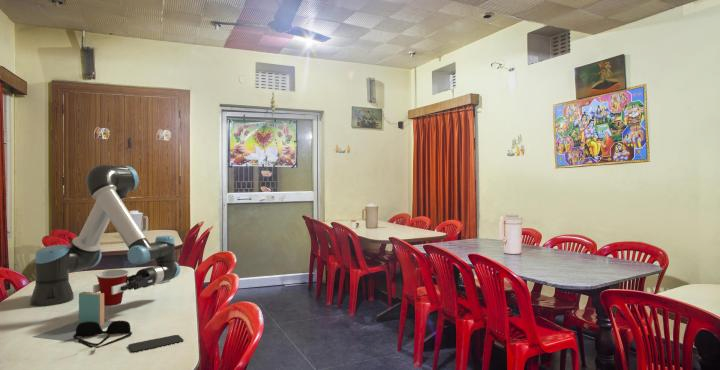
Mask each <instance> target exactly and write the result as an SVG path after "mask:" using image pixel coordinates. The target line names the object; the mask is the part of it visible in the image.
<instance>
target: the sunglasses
mask: <svg viewBox="0 0 720 370" xmlns="http://www.w3.org/2000/svg"><path fill="white" fill-rule="evenodd" d="M112 321H113V322H112V323H111V324H110V325H109V326H108V327H107V328H106V330H104V329H102V328H101V326H100V325H99V323H97V322H94V321H87V322H82V323H80V324H79V325H78V326H77V328H76V334H74V336H73V338H75V339H76V340H77V342H78V343H79V344H81V345H83V346H85V347H88V348H90V349H92V348H96V349H98V348H101V347H106V346H107V345H110V344H113V343H116V342H118V341H121V340H124V339H126V338H128V337H130V336H132V335H133V332H132V331H131V325H130V324H131V323H129V321H127V320H122V319H121V320H112ZM104 334H105V335H107V336H104V338H103V339H102V340H101V341H100V342H98V343H95V342H94V343H93V342H90V341H87V340H85V339H83V338H86V337H88V338H89V337H94V336H99V335H104ZM116 334H117V335H123V336H121V337H119V338H116V339H114V340H111V341H108V342H106V341H107V340H109V338H111V336H110V335H116ZM124 334H125V335H124ZM78 337H81V338H78ZM104 342H106V343H104ZM103 343H104V344H103Z"/></svg>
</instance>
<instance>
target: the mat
mask: <svg viewBox="0 0 720 370" xmlns="http://www.w3.org/2000/svg"><path fill="white" fill-rule="evenodd" d="M113 321H114V320H110V319H109V320H108V319H104V325H102V326H101V328H102V330H104V329H107V328H108V326H109V325H110V324H111V323H112V322H113ZM78 325H79V320H77V321H75V322H71V323H69V324H66V325H63V326H59V327H57V328H54V329H51V330H48V331H46V332H42V333H40V334H37V335H34V336H32V338H38V339H46V340H54V341H62V342H70V343H71V342H73V341H76V340H77V339H75V338H73V336H74V334H76V328H77V326H78ZM78 338H81V339H82V337H78Z"/></svg>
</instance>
